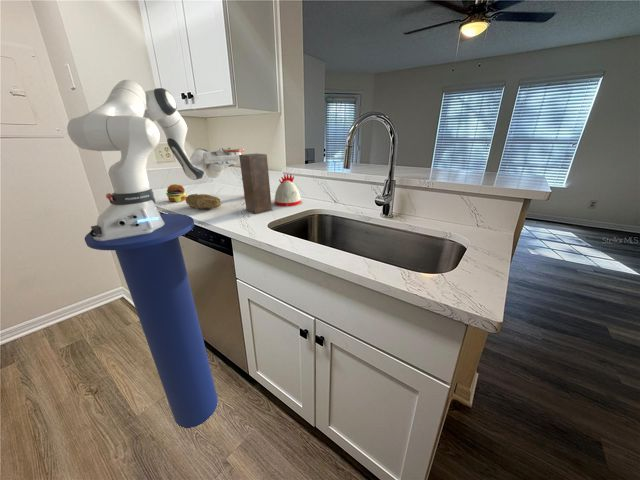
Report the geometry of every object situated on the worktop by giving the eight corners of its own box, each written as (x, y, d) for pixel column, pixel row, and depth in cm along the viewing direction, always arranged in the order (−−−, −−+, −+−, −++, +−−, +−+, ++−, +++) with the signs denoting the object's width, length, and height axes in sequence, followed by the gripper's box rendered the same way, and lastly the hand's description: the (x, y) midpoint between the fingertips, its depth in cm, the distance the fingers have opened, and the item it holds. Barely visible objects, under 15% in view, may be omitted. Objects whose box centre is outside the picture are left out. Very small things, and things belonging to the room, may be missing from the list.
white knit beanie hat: (305, 203, 137) (303, 174, 131) (280, 207, 131) (278, 177, 125) (294, 198, 148) (293, 171, 142) (271, 201, 142) (269, 173, 136)
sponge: (184, 209, 135) (195, 208, 120) (183, 194, 134) (194, 191, 119) (210, 209, 144) (224, 208, 129) (209, 194, 143) (223, 192, 128)
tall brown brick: (255, 213, 121) (248, 155, 111) (246, 210, 127) (239, 154, 117) (271, 210, 127) (266, 154, 117) (262, 206, 133) (256, 153, 123)
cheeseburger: (167, 203, 142) (163, 184, 140) (169, 203, 151) (164, 186, 150) (188, 200, 146) (183, 182, 144) (188, 201, 156) (184, 184, 154)
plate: (231, 152, 123) (230, 150, 123) (215, 150, 137) (214, 148, 136) (247, 151, 129) (246, 149, 128) (230, 150, 142) (229, 147, 141)
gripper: (198, 157, 140) (204, 144, 129) (234, 154, 153) (242, 142, 142) (202, 168, 140) (208, 156, 129) (237, 164, 153) (246, 153, 142)
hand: (226, 149), depth 136 cm, fingers closed on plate, 3 cm apart
